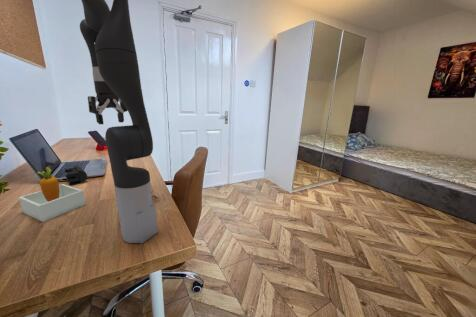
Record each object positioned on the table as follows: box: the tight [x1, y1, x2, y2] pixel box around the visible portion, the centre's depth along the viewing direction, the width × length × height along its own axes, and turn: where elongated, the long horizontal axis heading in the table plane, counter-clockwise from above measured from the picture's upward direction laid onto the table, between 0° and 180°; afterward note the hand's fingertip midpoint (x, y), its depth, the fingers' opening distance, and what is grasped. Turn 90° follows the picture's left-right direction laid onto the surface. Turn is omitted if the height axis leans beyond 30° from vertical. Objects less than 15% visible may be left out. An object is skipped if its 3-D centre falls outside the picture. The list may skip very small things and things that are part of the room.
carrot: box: [37, 166, 60, 202], centre depth 75 cm, size 5×5×15 cm
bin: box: [18, 183, 86, 223], centre depth 77 cm, size 13×13×6 cm
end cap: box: [64, 165, 88, 187], centre depth 102 cm, size 10×7×7 cm
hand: (111, 123), depth 85 cm, fingers open, 8 cm apart
